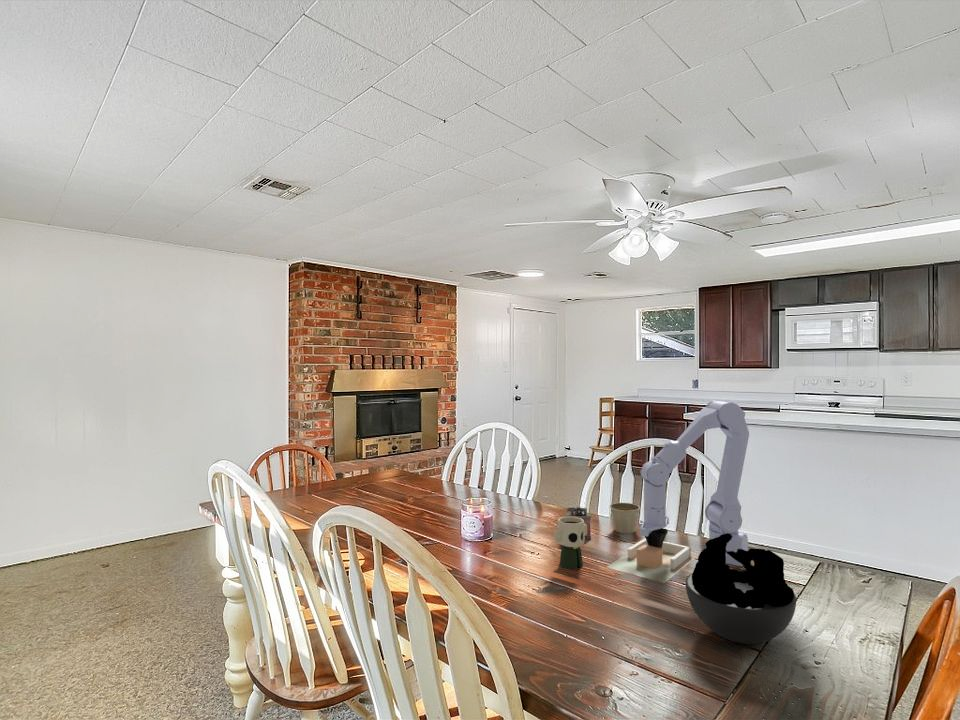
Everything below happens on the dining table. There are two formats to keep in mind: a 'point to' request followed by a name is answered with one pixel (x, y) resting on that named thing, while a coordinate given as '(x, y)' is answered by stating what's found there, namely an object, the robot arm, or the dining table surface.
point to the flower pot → (624, 517)
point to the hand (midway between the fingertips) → (655, 555)
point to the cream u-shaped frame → (679, 550)
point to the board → (657, 574)
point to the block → (649, 556)
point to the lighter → (584, 516)
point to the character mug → (570, 541)
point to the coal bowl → (741, 593)
